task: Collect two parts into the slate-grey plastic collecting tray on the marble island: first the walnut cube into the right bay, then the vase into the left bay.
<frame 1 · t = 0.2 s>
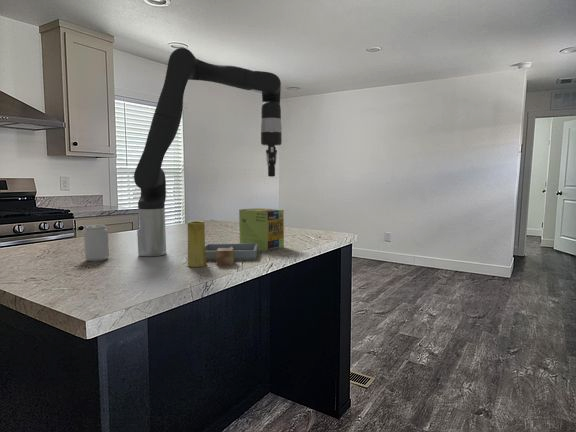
hand: (271, 176, 143), 29 cm above the table, fingers open, 8 cm apart
tray: (229, 256, 141), on the table
protein box: (261, 247, 158), on the table
vase: (197, 265, 127), on the table
walnut cube: (225, 264, 129), on the table
can: (97, 260, 137), on the table
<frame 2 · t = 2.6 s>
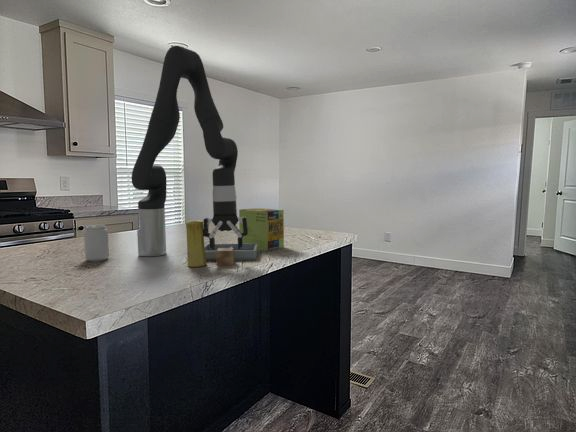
hand: (226, 249, 128), 5 cm above the table, fingers open, 8 cm apart
nothing on the table moved.
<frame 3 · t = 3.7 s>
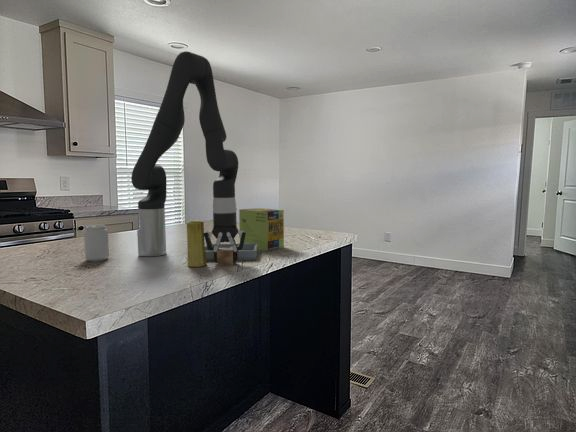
hand: (226, 262, 129), 1 cm above the table, fingers closed on walnut cube, 5 cm apart
vase: (197, 265, 127), on the table, touching hand
walnut cube: (226, 264, 129), on the table, touching gripper
everything else where it was.
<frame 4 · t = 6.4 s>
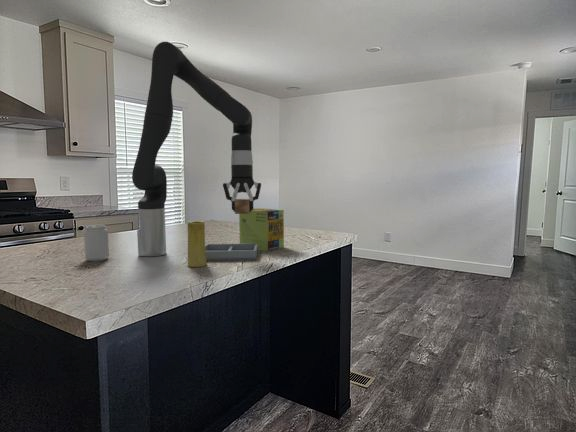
hand: (242, 211, 140), 16 cm above the table, fingers closed on walnut cube, 5 cm apart
vase: (197, 265, 127), on the table
walnut cube: (242, 213, 140), point 16 cm above the table, touching gripper
everything else where it was.
when the fingers open (3 cm above the table, at t = 9.0 s): walnut cube drops 2 cm, resting on tray.
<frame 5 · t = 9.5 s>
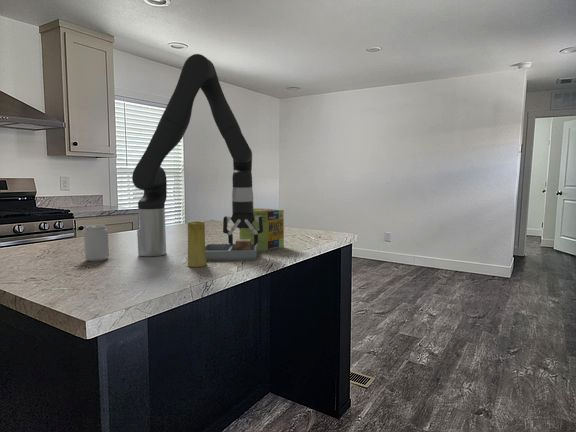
hand: (243, 244, 141), 4 cm above the table, fingers open, 8 cm apart
walnut cube: (243, 253, 141), point 1 cm above the table, touching tray
everything else where it was.
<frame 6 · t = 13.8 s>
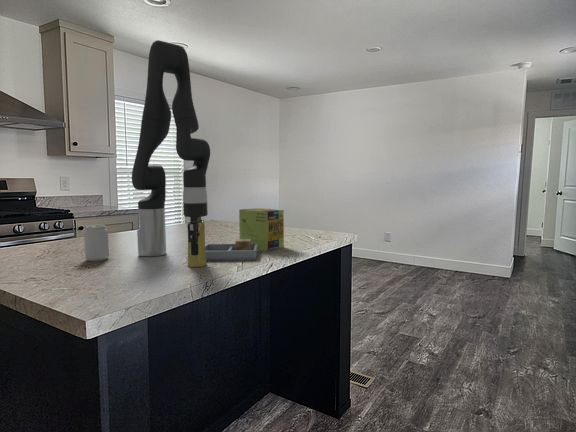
hand: (196, 253, 127), 4 cm above the table, fingers closed on vase, 5 cm apart
vase: (197, 265, 127), on the table, touching gripper
everything else where it was.
when the fingers open (6 cm above the table, at t = 19.8 s): vase stays where it is, resting on tray.
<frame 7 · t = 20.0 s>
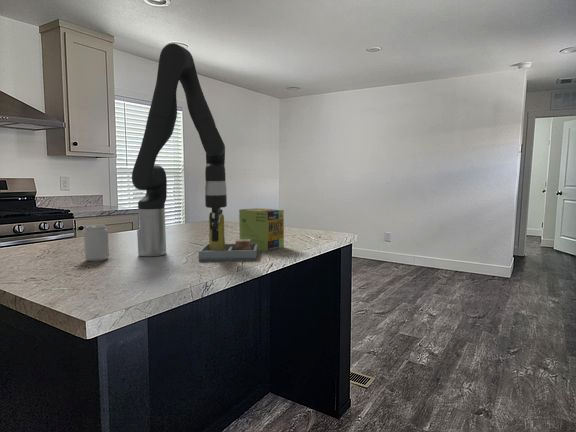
hand: (217, 239, 140), 6 cm above the table, fingers open, 7 cm apart
vase: (217, 254, 141), point 1 cm above the table, touching tray
everything else where it was.
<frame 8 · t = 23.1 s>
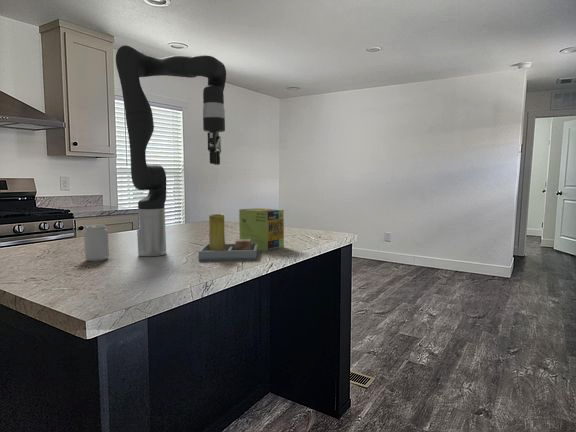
hand: (215, 164, 138), 33 cm above the table, fingers open, 8 cm apart
nothing on the table moved.
at the end: vase inside the target area on the tray (4.5 cm from its centre), point 0.6 cm above the tray's base; vase tilted 0°; walnut cube inside the target area on the tray (4.9 cm from its centre), point 0.8 cm above the tray's base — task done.
